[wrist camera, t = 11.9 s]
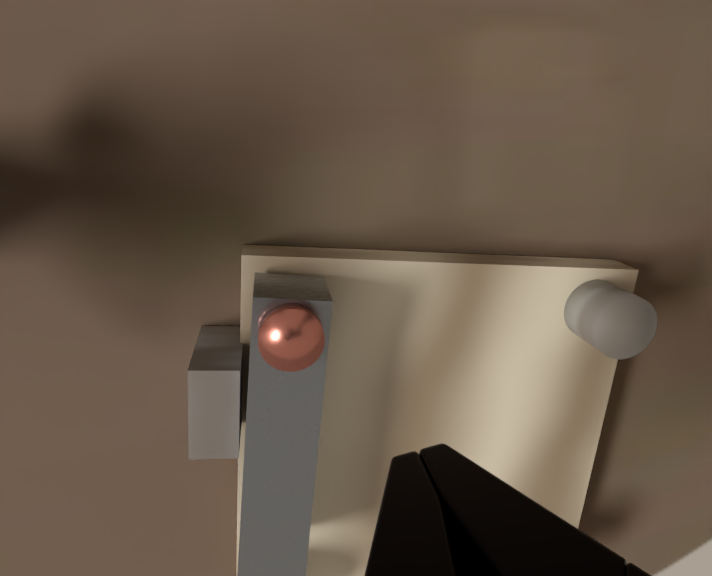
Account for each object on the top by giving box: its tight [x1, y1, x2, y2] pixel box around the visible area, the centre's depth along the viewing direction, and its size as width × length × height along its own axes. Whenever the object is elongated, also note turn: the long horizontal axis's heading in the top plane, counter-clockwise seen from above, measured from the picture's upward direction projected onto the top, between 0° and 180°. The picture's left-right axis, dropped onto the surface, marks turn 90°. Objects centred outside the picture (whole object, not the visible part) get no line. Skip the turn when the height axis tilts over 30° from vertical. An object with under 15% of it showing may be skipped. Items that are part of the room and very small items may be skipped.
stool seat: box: [188, 245, 657, 576], centre depth 20 cm, size 15×14×4 cm
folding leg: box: [237, 272, 333, 576], centre depth 17 cm, size 10×2×3 cm, turn 174°
